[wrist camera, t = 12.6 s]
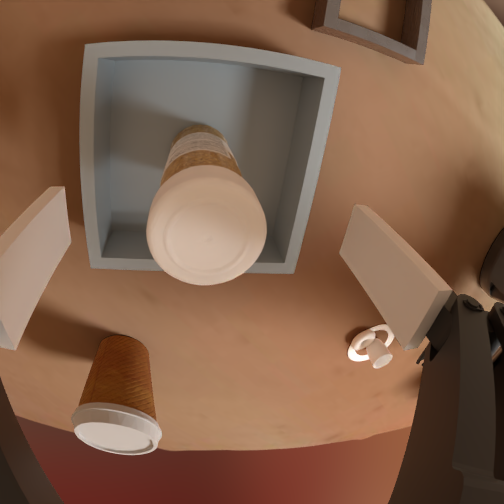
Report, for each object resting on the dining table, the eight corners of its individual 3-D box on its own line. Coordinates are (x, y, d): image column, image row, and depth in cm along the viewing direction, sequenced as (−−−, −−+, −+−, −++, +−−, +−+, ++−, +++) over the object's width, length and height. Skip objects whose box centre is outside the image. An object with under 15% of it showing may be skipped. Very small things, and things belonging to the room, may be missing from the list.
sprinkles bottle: (222, 183, 24) (254, 293, 13) (165, 176, 23) (142, 285, 12) (234, 127, 22) (283, 189, 10) (173, 119, 20) (149, 173, 9)
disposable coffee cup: (163, 376, 37) (165, 458, 27) (95, 371, 35) (84, 450, 25) (160, 327, 32) (157, 424, 22) (79, 322, 30) (56, 413, 20)
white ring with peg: (343, 333, 39) (355, 356, 36) (394, 310, 39) (408, 330, 35) (348, 365, 44) (358, 385, 40) (392, 344, 44) (404, 363, 40)
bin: (313, 67, 21) (341, 67, 16) (278, 242, 29) (293, 273, 25) (106, 49, 17) (85, 44, 13) (104, 235, 25) (90, 268, 21)
